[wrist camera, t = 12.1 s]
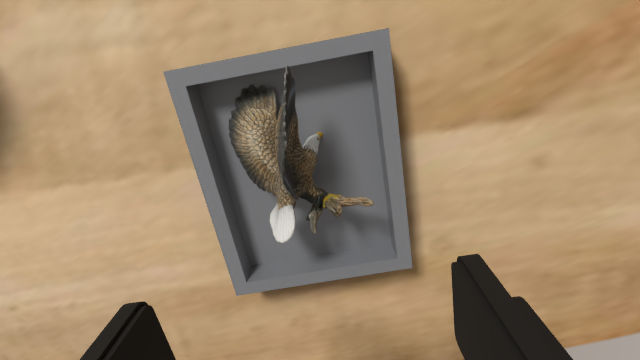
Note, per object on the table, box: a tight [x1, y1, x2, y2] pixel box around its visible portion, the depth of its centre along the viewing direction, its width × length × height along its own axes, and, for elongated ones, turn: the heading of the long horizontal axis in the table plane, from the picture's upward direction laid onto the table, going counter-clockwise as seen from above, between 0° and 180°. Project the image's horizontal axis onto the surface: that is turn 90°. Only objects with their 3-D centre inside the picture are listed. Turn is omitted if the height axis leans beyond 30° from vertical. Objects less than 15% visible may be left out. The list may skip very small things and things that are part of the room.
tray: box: [164, 28, 413, 296], centre depth 23 cm, size 13×16×3 cm
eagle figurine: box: [229, 66, 374, 243], centre depth 21 cm, size 8×7×9 cm
